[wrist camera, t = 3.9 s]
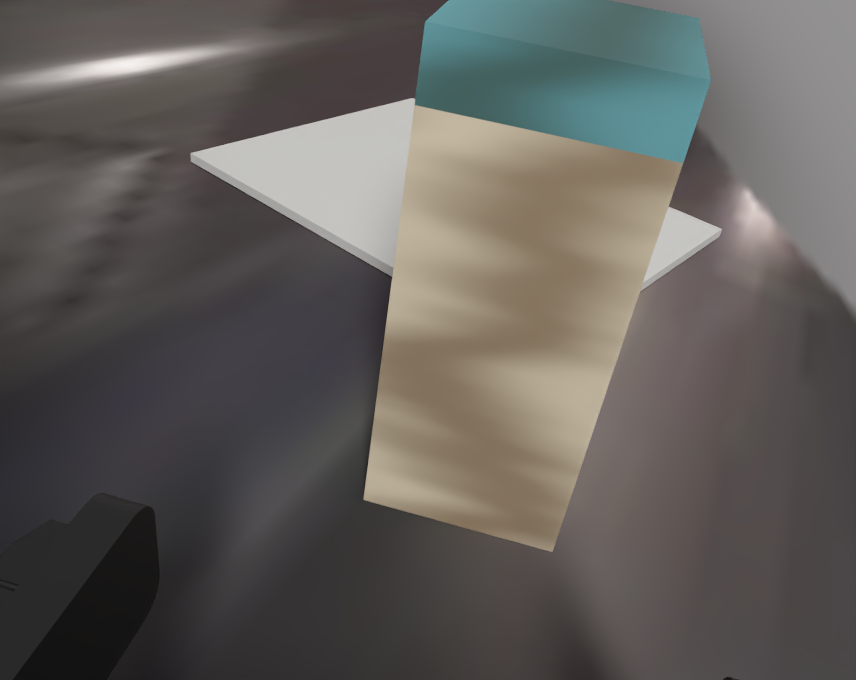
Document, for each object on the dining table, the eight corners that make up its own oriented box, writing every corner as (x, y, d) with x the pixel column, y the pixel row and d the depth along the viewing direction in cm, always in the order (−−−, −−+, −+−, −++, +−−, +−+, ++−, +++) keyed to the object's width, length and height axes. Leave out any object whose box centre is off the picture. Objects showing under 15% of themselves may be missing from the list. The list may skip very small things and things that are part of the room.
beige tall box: (363, 499, 21) (425, 21, 14) (411, 388, 25) (477, -26, 18) (552, 552, 20) (710, 79, 14) (570, 429, 25) (699, 18, 18)
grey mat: (190, 161, 36) (190, 153, 36) (411, 104, 46) (412, 97, 46) (538, 361, 27) (541, 351, 27) (718, 236, 37) (721, 229, 37)
